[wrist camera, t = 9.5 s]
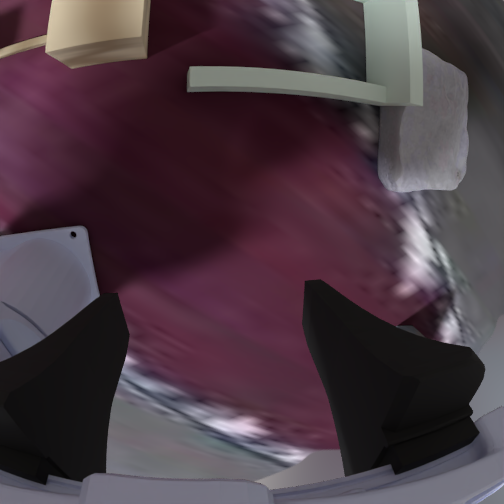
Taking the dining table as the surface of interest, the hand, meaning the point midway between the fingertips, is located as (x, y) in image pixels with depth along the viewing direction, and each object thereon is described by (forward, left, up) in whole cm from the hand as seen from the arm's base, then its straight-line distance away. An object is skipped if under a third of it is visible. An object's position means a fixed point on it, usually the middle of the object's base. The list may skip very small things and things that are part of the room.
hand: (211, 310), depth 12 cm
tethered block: (-10, +14, -10) cm, 20 cm away
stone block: (+19, +8, -11) cm, 24 cm away
